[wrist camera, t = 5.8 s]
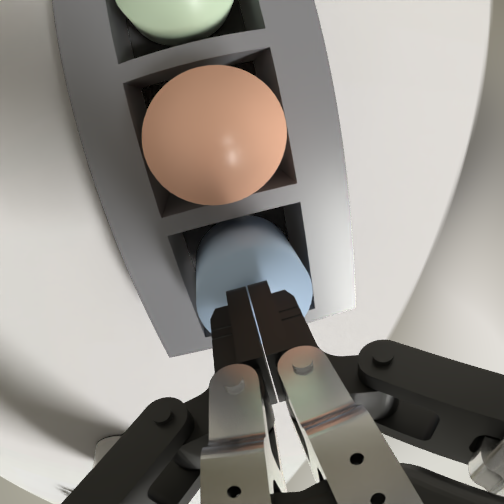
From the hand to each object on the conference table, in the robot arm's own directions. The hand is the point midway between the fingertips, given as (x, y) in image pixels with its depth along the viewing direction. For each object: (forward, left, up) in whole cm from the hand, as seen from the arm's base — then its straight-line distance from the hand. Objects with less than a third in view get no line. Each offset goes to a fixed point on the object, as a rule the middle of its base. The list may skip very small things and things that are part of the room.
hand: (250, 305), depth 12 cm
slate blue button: (0, 0, -4) cm, 4 cm away
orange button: (+5, +3, -4) cm, 7 cm away
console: (+5, +3, -7) cm, 9 cm away
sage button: (+11, +6, -5) cm, 14 cm away
